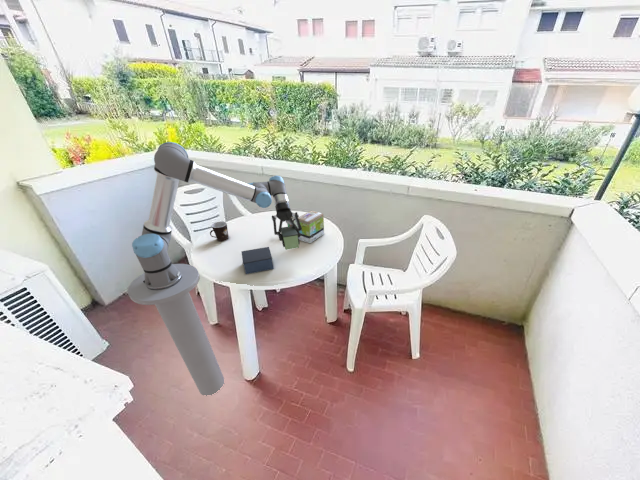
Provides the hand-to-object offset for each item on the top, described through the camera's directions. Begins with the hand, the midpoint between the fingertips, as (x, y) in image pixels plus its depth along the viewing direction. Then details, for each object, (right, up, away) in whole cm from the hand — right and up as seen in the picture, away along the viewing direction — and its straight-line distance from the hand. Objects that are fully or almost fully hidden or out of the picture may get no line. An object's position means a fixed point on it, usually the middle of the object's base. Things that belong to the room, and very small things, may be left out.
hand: (291, 244), depth 147 cm
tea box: (+5, +7, +33) cm, 35 cm away
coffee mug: (-51, +5, +29) cm, 58 cm away
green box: (-1, +1, +4) cm, 4 cm away
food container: (-8, +12, +39) cm, 42 cm away
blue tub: (-19, -11, +5) cm, 23 cm away
